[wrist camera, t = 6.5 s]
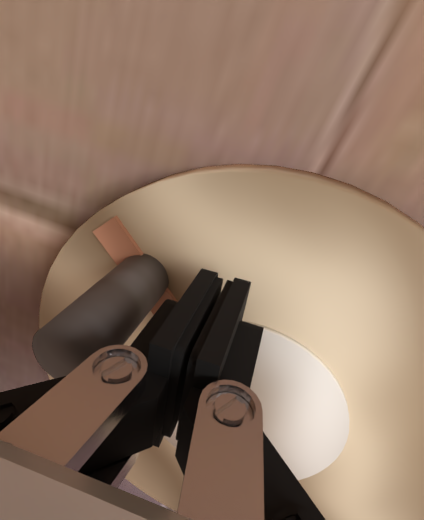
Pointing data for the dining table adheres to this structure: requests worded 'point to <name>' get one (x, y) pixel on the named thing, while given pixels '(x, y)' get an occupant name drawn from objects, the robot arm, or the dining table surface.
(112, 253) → the turntable
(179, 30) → the dining table surface
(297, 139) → the dining table surface
